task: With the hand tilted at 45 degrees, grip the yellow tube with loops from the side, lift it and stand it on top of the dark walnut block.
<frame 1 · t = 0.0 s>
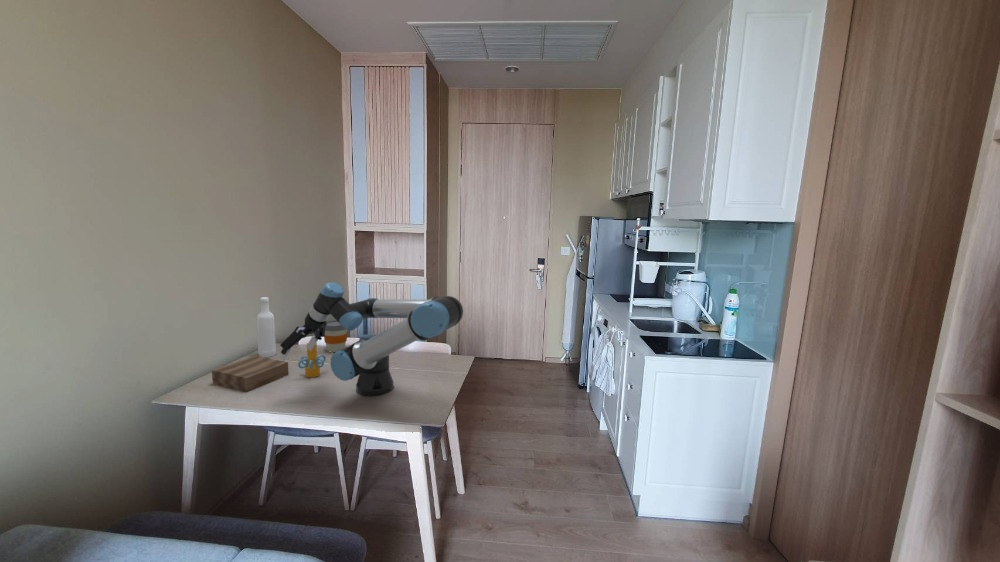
hand: (295, 353, 162), 15 cm above the table, tool tilted 35°, fingers open, 13 cm apart
reusable coffee cup: (336, 350, 213), on the table
yellow tube with loops: (312, 375, 178), on the table
walnut block: (252, 379, 172), on the table
bottle: (267, 355, 202), on the table
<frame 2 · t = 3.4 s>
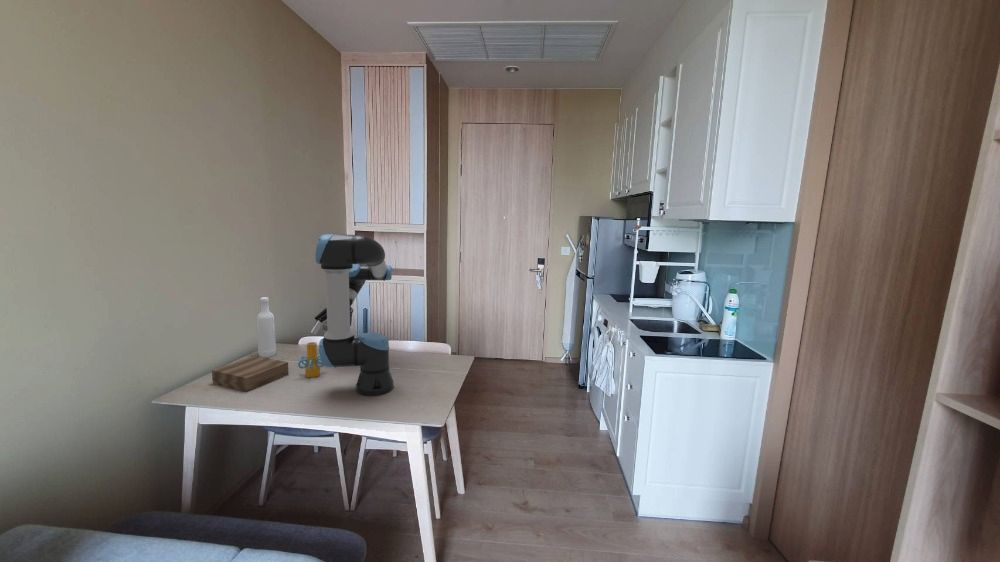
hand: (324, 335, 183), 16 cm above the table, tool tilted 45°, fingers open, 13 cm apart
nothing on the table moved.
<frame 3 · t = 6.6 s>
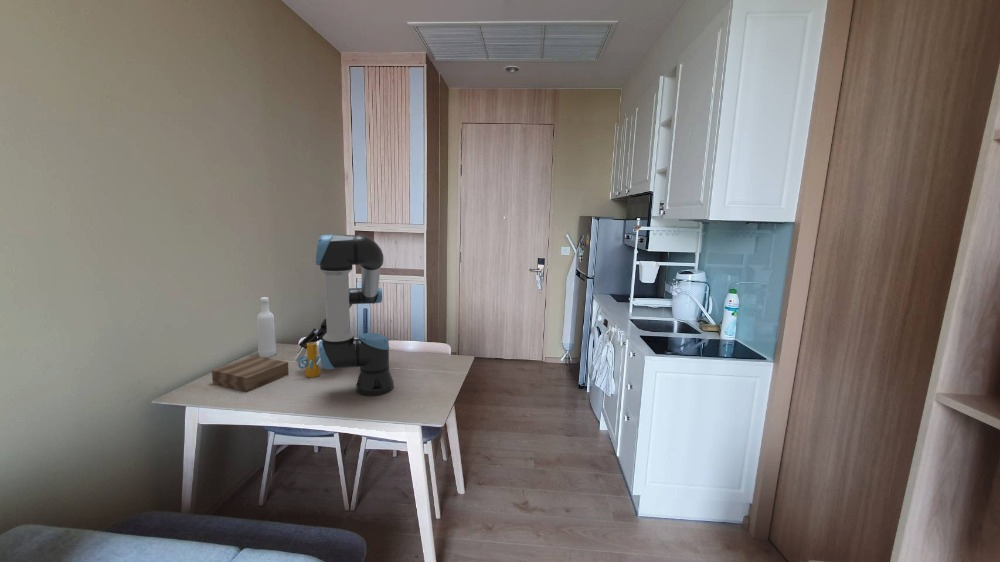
hand: (307, 363, 175), 6 cm above the table, tool tilted 45°, fingers closed on yellow tube with loops, 12 cm apart
yellow tube with loops: (312, 375, 178), on the table, touching gripper
everything else where it was.
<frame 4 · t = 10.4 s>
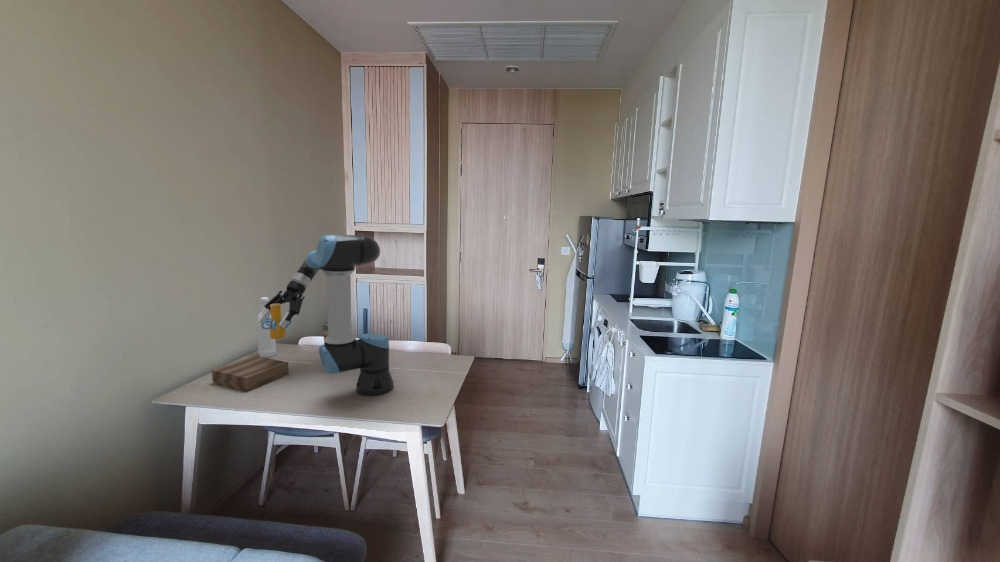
hand: (271, 324, 172), 24 cm above the table, tool tilted 45°, fingers closed on yellow tube with loops, 12 cm apart
yellow tube with loops: (277, 337, 175), point 17 cm above the table, touching gripper
everything else where it was.
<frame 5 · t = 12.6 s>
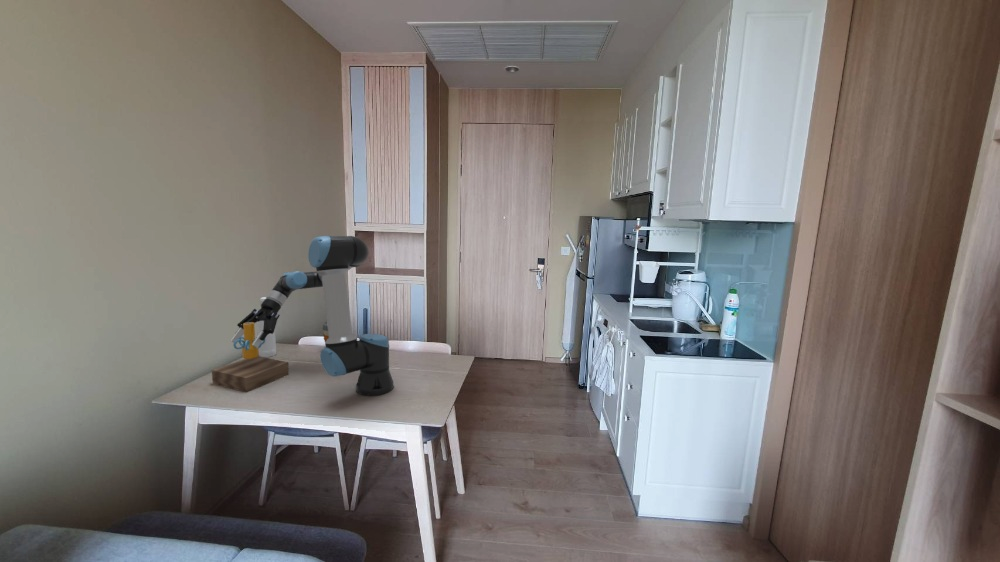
hand: (243, 344, 167), 16 cm above the table, tool tilted 45°, fingers closed on yellow tube with loops, 12 cm apart
yellow tube with loops: (250, 357, 170), point 10 cm above the table, touching gripper
everything else where it was.
when the fingers open (14 cm above the table, at t = 14.4 s): yellow tube with loops drops 1 cm, resting on walnut block.
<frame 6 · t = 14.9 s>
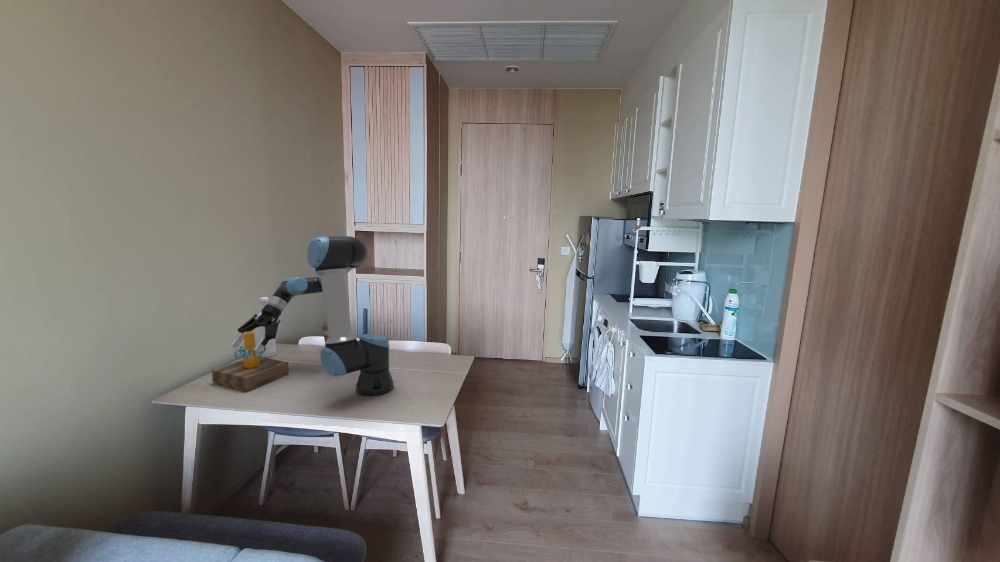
hand: (244, 349, 167), 14 cm above the table, tool tilted 45°, fingers open, 13 cm apart
yellow tube with loops: (251, 366, 171), point 6 cm above the table, touching walnut block
everything else where it was.
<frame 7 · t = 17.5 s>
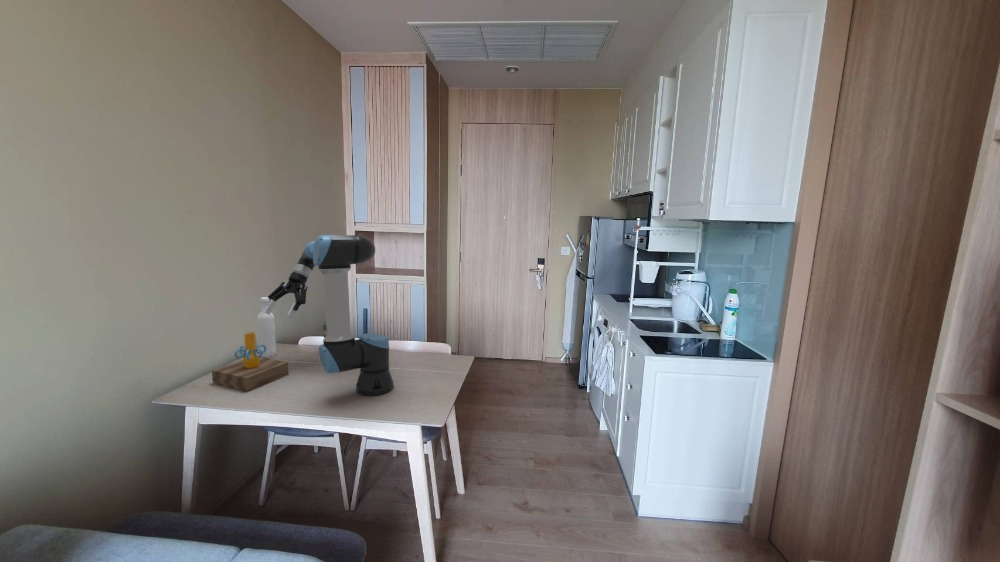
hand: (278, 315, 179), 26 cm above the table, tool tilted 40°, fingers open, 13 cm apart
nothing on the table moved.
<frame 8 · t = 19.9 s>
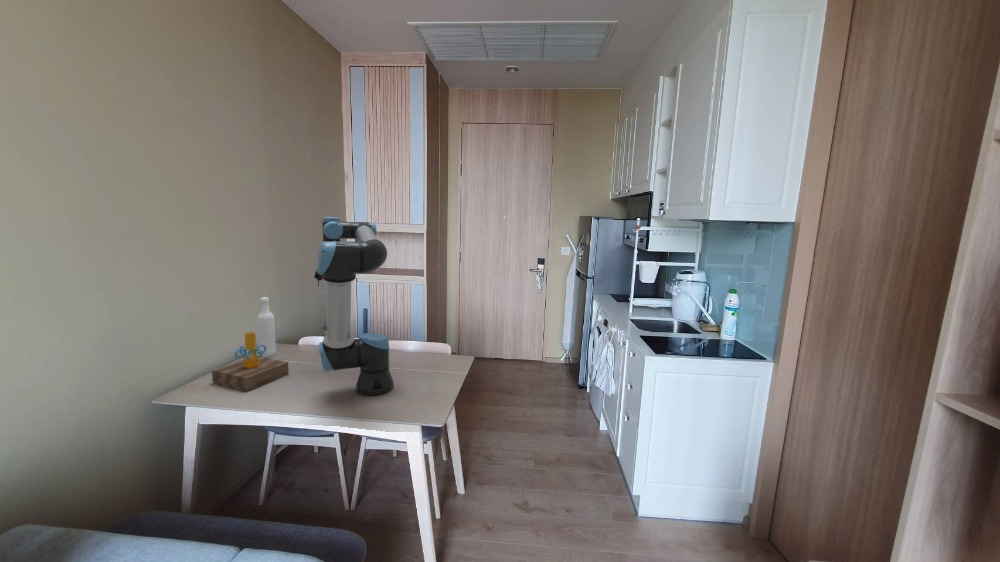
hand: (333, 294, 187), 35 cm above the table, tool pointing down, fingers open, 13 cm apart
nothing on the table moved.
at the end: yellow tube with loops inside the target area on the walnut block (0.2 cm from its centre), point 5.8 cm above the walnut block's base; yellow tube with loops tilted 0°; the gripper is holding nothing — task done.
